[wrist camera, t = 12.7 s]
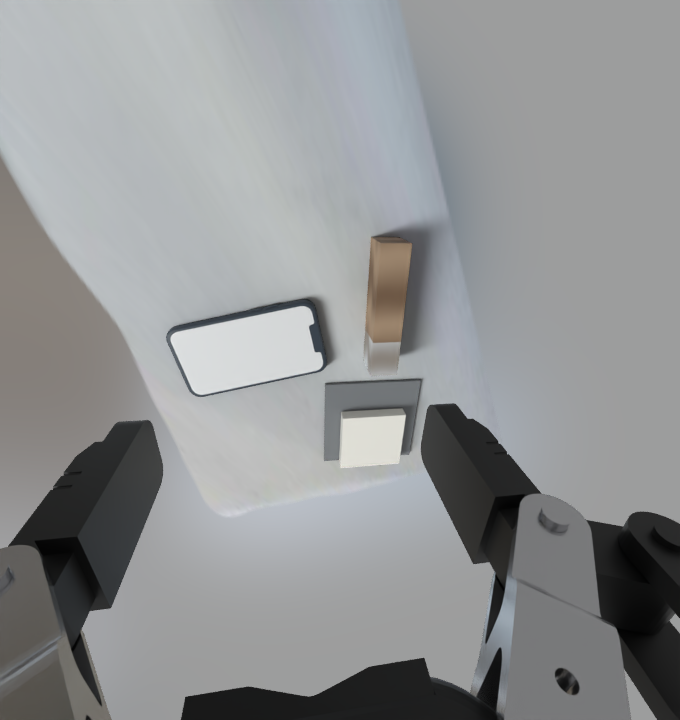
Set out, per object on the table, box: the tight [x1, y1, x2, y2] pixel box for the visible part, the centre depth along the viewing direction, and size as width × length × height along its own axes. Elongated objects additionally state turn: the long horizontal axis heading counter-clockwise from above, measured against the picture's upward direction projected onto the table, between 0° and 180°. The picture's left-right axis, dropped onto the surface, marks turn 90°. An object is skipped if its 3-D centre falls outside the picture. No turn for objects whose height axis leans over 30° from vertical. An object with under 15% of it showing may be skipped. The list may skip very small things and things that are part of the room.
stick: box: [363, 237, 412, 376], centre depth 37 cm, size 14×3×4 cm, turn 178°
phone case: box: [166, 299, 327, 397], centre depth 39 cm, size 9×2×16 cm
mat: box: [324, 379, 421, 461], centre depth 46 cm, size 12×12×1 cm
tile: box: [339, 408, 406, 468], centre depth 46 cm, size 2×8×8 cm
